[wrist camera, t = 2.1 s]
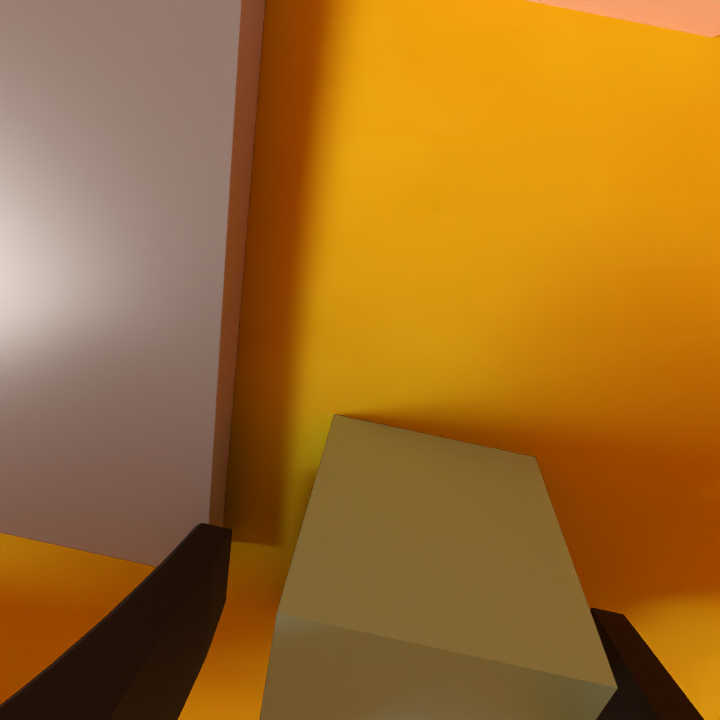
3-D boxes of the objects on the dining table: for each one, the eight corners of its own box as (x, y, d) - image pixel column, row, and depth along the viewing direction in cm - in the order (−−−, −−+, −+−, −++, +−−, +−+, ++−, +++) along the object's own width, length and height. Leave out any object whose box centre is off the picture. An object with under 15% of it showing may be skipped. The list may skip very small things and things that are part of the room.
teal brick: (453, 645, 12) (471, 899, 8) (296, 611, 12) (239, 846, 8) (534, 453, 10) (617, 687, 6) (334, 411, 10) (276, 612, 6)
